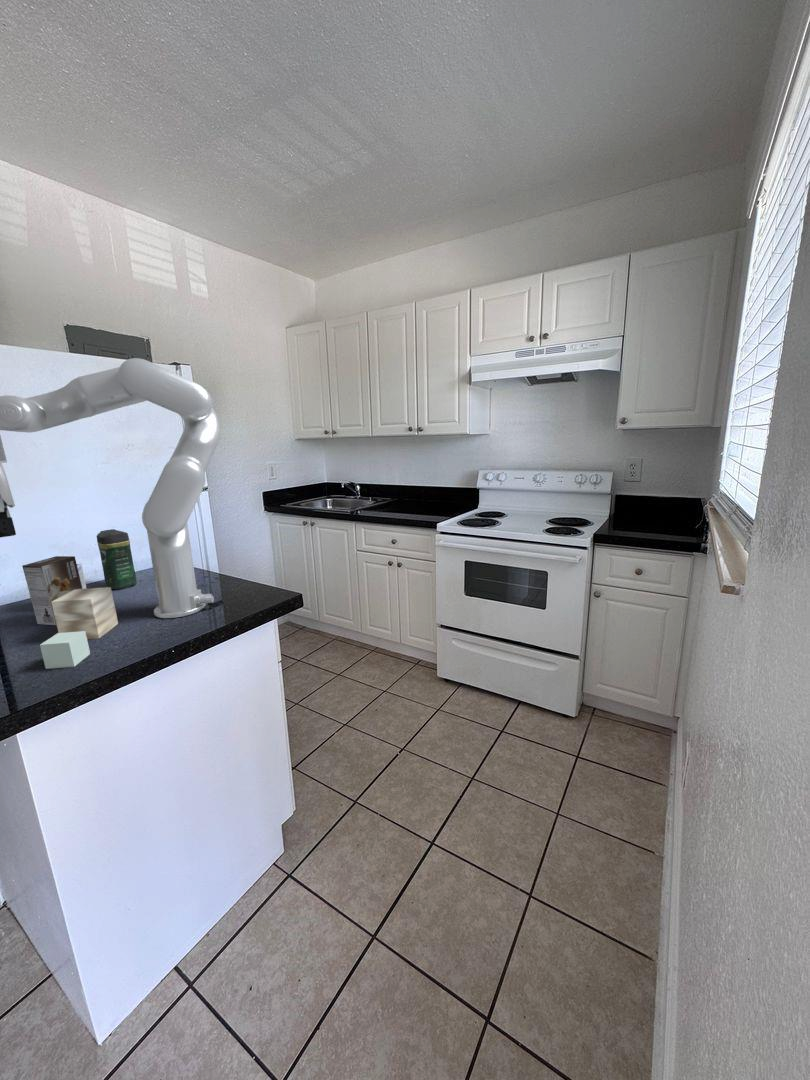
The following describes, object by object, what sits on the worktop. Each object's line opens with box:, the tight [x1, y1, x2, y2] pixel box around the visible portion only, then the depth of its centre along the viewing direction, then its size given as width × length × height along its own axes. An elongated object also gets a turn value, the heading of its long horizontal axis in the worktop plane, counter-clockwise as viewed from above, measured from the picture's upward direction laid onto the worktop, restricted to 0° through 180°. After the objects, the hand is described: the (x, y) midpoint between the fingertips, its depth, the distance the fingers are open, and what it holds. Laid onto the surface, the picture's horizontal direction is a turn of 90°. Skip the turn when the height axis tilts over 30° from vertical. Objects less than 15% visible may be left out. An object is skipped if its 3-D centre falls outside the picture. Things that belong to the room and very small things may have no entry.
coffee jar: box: [96, 528, 138, 590], centre depth 138 cm, size 10×8×19 cm
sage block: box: [39, 631, 91, 670], centre depth 91 cm, size 6×6×6 cm
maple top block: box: [51, 586, 115, 622], centre depth 104 cm, size 8×8×5 cm
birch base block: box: [56, 605, 119, 640], centre depth 105 cm, size 8×8×5 cm
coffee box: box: [21, 555, 82, 626], centre depth 113 cm, size 9×6×16 cm
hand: (3, 533), depth 97 cm, fingers open, 9 cm apart
